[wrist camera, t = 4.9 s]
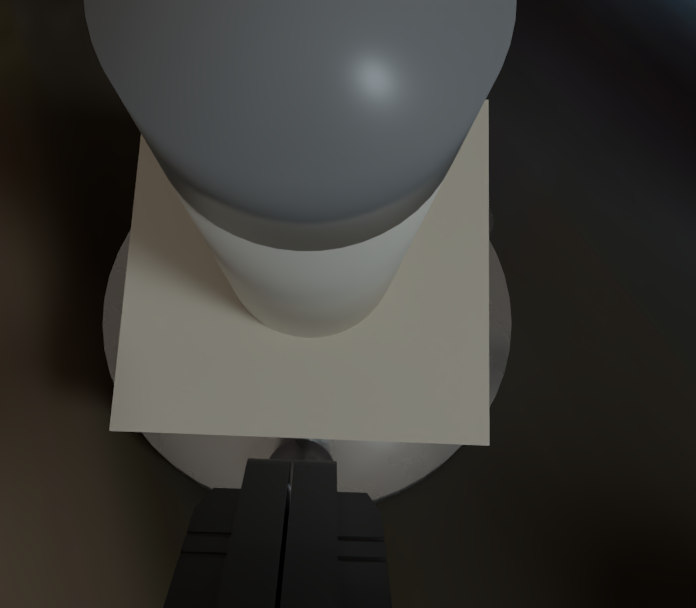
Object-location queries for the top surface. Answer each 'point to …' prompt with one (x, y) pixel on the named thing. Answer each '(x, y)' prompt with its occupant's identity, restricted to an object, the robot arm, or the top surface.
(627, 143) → the top surface
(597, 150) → the top surface
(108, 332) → the base
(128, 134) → the top surface
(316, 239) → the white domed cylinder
